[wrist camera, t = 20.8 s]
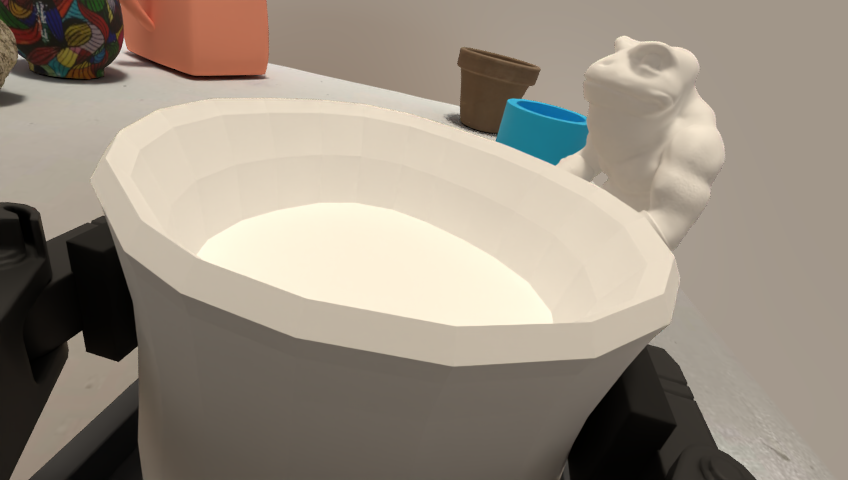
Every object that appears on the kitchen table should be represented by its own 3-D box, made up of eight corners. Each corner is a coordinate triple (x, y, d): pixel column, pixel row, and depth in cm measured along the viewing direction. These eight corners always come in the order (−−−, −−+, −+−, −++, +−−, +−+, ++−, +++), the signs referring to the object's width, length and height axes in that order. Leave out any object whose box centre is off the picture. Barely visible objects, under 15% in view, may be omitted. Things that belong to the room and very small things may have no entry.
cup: (246, 335, 17) (253, 72, 13) (498, 390, 17) (594, 151, 13) (33, 651, 9) (-169, 195, 4) (531, 750, 9) (841, 417, 4)
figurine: (649, 390, 22) (841, 81, 15) (522, 372, 21) (664, 37, 15) (578, 273, 32) (677, 49, 25) (488, 257, 31) (564, 22, 24)
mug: (570, 218, 41) (605, 131, 37) (483, 198, 41) (510, 109, 37) (551, 176, 52) (577, 105, 48) (482, 160, 52) (502, 88, 48)
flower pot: (514, 126, 72) (534, 61, 68) (524, 145, 62) (548, 70, 58) (445, 110, 72) (460, 44, 67) (443, 127, 62) (461, 50, 57)
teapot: (294, 78, 69) (301, -24, 63) (155, 82, 52) (145, -59, 45) (209, 48, 77) (207, -46, 70) (61, 42, 59) (41, -84, 52)
